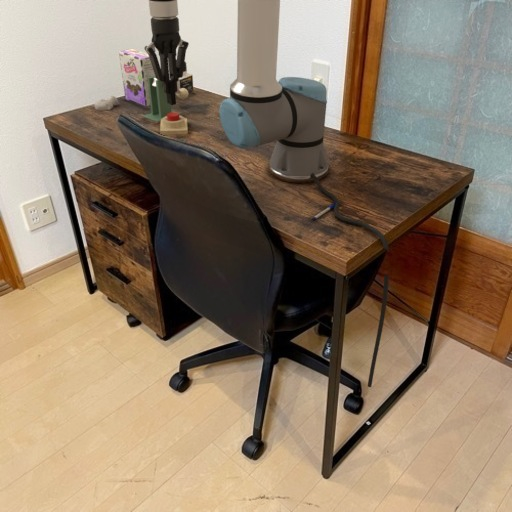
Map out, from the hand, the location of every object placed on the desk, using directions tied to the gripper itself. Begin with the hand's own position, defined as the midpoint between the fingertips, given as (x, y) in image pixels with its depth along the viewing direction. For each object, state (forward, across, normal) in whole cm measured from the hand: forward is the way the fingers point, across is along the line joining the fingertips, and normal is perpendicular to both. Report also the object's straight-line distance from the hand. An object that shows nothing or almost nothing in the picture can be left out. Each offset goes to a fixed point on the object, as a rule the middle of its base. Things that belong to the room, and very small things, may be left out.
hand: (171, 103), depth 155 cm
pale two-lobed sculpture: (+9, +8, -30) cm, 32 cm away
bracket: (+9, -3, -13) cm, 16 cm away
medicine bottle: (+9, -20, -30) cm, 37 cm away
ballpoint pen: (+9, -2, +64) cm, 65 cm away
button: (+5, 0, 0) cm, 5 cm away
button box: (+9, 0, 0) cm, 9 cm away
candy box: (+9, -5, -30) cm, 32 cm away
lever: (+2, -7, -13) cm, 15 cm away
